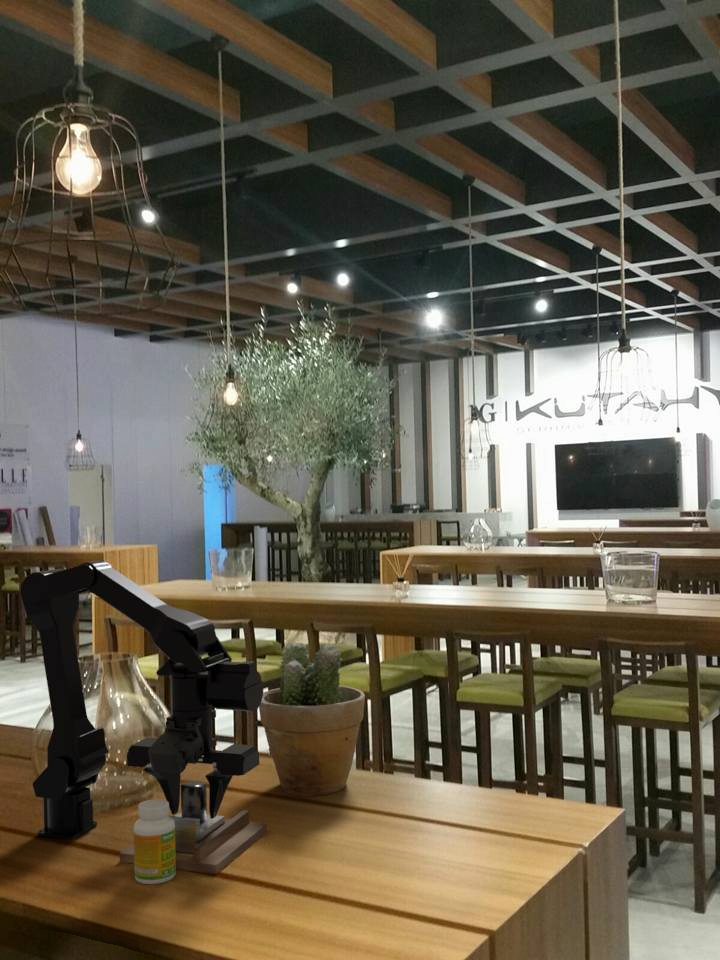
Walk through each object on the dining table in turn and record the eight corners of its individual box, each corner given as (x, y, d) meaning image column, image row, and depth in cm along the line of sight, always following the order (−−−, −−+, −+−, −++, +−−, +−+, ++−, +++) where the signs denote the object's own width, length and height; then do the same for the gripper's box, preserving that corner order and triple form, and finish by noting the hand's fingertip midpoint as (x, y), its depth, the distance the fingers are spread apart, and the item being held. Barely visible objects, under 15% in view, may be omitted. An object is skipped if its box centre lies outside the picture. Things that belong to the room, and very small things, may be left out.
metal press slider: (152, 848, 132) (151, 795, 132) (182, 828, 140) (180, 777, 140) (197, 853, 130) (196, 799, 130) (224, 832, 137) (223, 781, 137)
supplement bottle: (166, 886, 123) (164, 811, 123) (127, 884, 124) (125, 809, 124) (182, 869, 128) (180, 797, 128) (145, 867, 129) (143, 796, 129)
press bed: (119, 861, 132) (119, 840, 132) (178, 821, 147) (178, 802, 147) (216, 874, 127) (216, 851, 127) (267, 831, 142) (266, 811, 142)
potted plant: (237, 791, 161) (233, 643, 161) (305, 763, 176) (301, 628, 176) (323, 810, 150) (320, 652, 150) (388, 779, 165) (384, 635, 165)
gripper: (102, 716, 132) (105, 829, 132) (223, 725, 126) (226, 843, 126) (146, 698, 142) (149, 803, 142) (259, 705, 136) (262, 814, 136)
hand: (194, 815), depth 136 cm, fingers open, 6 cm apart
